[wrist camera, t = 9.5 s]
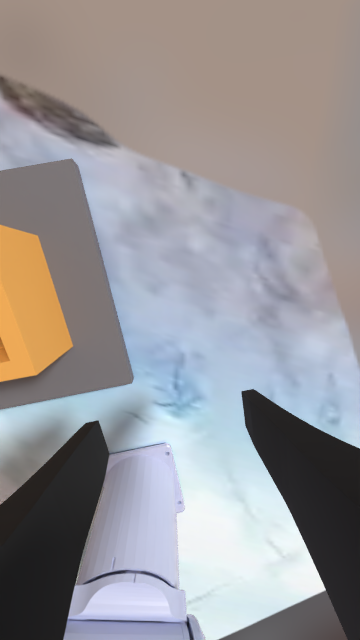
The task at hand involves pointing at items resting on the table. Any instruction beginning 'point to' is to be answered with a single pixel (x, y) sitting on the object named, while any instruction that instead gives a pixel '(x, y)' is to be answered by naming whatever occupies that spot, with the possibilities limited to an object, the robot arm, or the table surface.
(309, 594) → the table surface
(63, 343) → the orange link
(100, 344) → the hook board
